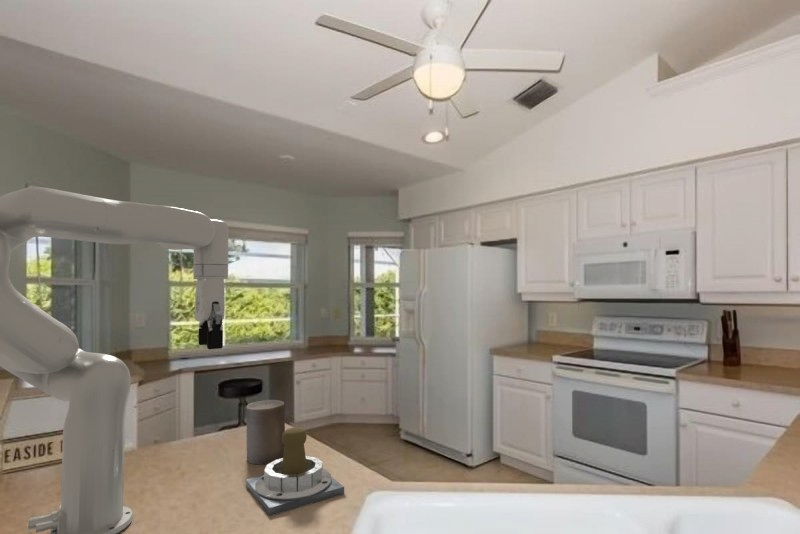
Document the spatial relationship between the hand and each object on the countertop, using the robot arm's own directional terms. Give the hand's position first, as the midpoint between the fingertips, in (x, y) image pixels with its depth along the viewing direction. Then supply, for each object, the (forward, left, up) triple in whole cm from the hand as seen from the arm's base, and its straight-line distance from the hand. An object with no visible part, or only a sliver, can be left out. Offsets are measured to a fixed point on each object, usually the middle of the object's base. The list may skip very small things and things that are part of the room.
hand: (210, 346), depth 105 cm
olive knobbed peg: (+14, -17, -28) cm, 36 cm away
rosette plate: (+14, -16, -30) cm, 37 cm away
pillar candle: (+15, +6, -31) cm, 35 cm away
